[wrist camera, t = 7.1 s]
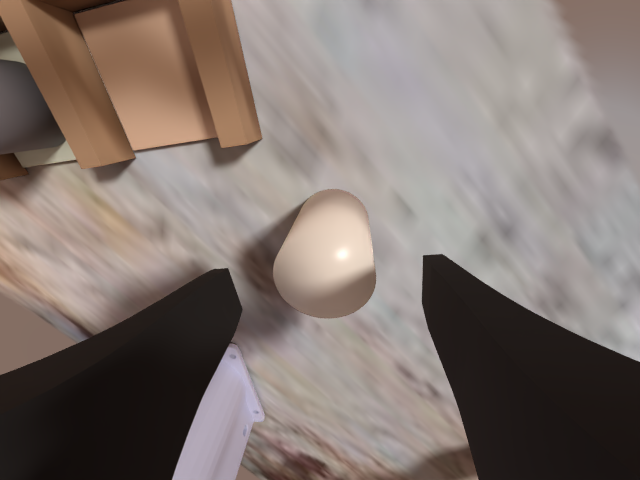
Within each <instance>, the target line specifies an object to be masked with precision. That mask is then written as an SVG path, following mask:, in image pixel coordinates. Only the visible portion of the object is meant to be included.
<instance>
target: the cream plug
mask: <svg viewBox="0 0 640 480" xmlns="http://www.w3.org/2000/svg"><path fill="white" fill-rule="evenodd" d="M273 278H274V283H275V285H276V288H277V290H278V292H279V293H280V295H281V296H282V298H283V299H284V300H285V301H286V302H287V303H288V304H289V305H290V306H292V307H293V308H295V309H296V310H298V311H300V312H302V313H304V314H307V315H310V316H313V317H318V318H338V317H343V316H346V315H349V314H351V313H354V312H355V311H357V310H359V309H360V308H361V307H363V306H364V305H365V304H366V303H367V301H368V300H369V299H370V297H371V296H372V294H373V291H374V288H375V284H376V272H375V265H374V257H373V249H372V242H371V234H370V226H369V219H368V214H367V211H366V209H365V207H364V205H363V204H362V202H361V201H360V200H359V199H358V198H357V197H355V196H354V195H352V194H351V193H349V192H346V191H343V190H339V189H328V190H323V191H320V192H317V193H315V194H314V195H312V196H311V197H310V198H309V199H307V201H306V202H305V203H304V205H303V206H302V208H301V210H300V212H299V214H298V216H297V218H296V220H295V222H294V224H293V226H292V228H291V230H290V231H289V233H288V235H287V237H286V239H285V241H284V243H283V245H282V247H281V249H280V251H279V253H278V255H277V257H276V259H275V262H274V266H273Z"/></svg>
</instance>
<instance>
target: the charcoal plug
mask: <svg viewBox="0 0 640 480" xmlns="http://www.w3.org/2000/svg"><path fill="white" fill-rule="evenodd" d="M65 140H66V139H65V137H64V135H63V133H62V131H61V129H60V127H59V125H58V124H57V122H56V120H55V118H54V116H53V114H52V112H51V110H50V108H49V107H48V105H47V103H46V101H45V99H44V97H43V95H42V93H41V92H40V90H39V88H38V86H37V84H36V82H35V80H34V78H33V76H32V75H31V73H30V71H29V69H28V67H27V65H26V64H24V63H21V62H17V61H10V60H3V59H0V154H8V153H15V152H23V151H30V150H38V149H45V148H53V147H57V146H59V145H61V144H62V143H63V142H64V141H65Z"/></svg>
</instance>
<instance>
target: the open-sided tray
mask: <svg viewBox="0 0 640 480" xmlns="http://www.w3.org/2000/svg"><path fill="white" fill-rule="evenodd" d="M112 1H116V0H0V32H1V31H5V30H8V31H9V32H6V33H2V34H0V59H3V60H10V61H17V62H21V63H24V64H26V65H27V67H28V69H29V71H30V73H31V75H32V76H33V78H34V80H35V82H36V84H37V86H38V88H39V90H40V92H41V93H42V95H43V97H44V99H45V101H46V103H47V105H48V107H49V108H50V110H51V112H52V114H53V116H54V118H55V120H56V122H57V124H58V125H59V127H60V129H61V131H62V133H63V135H64V137H65V139H66V140H65V141H64V142H63V143H62V144H61V145H59V146H57V147H53V148H45V149H38V150H30V151H23V152H15V153H8V154H0V180H4V179H8V178H13V177H18V176H23V175H27V174H28V172H27V170H26V169H25V168H26V167H32V166H38V165H45V164H51V163H57V162H64V161H70V160H76V159H77V161H78V163H79V165H80V167H81V169H85V168H92V167H98V166H104V165H108V164H113V163H117V162H121V161H125V160H129V159H133V158H136V157H135V155H134V153H133V150H140V149H146V148H152V147H159V146H165V145H171V144H178V143H184V142H190V141H197V140H203V139H210V138H216V137H218V138H219V142H220V145H221V148H225V147H232V146H239V145H245V144H249V143H252V142H255V141H257V140H260V139H262V135H261V131H260V126H259V122H258V117H257V113H256V109H255V104H254V100H253V95H252V91H251V86H250V82H249V78H248V73H247V69H246V64H245V60H244V56H243V51H242V47H241V42H240V38H239V34H238V29H237V25H236V20H235V16H234V12H233V7H232V3H231V0H126V1H122V2H118V3H115V4H111V5H107V6H103V7H100V8H96V9H92V10H88V11H85V12H81V13H77V14H74V15H75V17H76V19H75V17H74V15H73V12H75V11H79V10H83V9H86V8H90V7H94V6H97V5H101V4H105V3H109V2H112ZM76 20H77V22H78V24H79V26H78V24H77V22H76ZM79 27H80V28H79ZM80 29H81V31H82V33H83V35H82V33H81V31H80ZM83 36H84V38H85V40H86V42H85V40H84V38H83ZM86 43H87V45H88V47H89V49H88V47H87V45H86ZM89 50H90V51H89ZM90 52H91V54H92V56H91V54H90ZM92 57H93V58H92ZM93 59H94V61H95V63H96V65H95V63H94V61H93ZM96 66H97V68H98V70H99V72H98V70H97V68H96ZM99 73H100V74H99ZM100 75H101V77H102V79H101V77H100ZM102 80H103V81H102ZM103 82H104V84H105V86H106V88H105V86H104V84H103ZM106 89H107V91H108V93H109V95H108V93H107V91H106ZM109 96H110V97H109ZM110 98H111V100H112V102H111V100H110ZM112 103H113V104H112ZM113 105H114V107H115V109H114V107H113ZM115 110H116V111H115ZM116 112H117V113H116ZM117 114H118V116H119V118H118V116H117ZM119 119H120V120H119ZM120 121H121V123H122V125H121V123H120ZM122 126H123V127H122ZM123 128H124V130H125V132H124V130H123ZM125 133H126V134H125ZM126 135H127V136H126ZM127 137H128V139H129V141H128V139H127ZM129 142H130V143H129ZM130 144H131V146H132V148H131V146H130ZM132 149H133V150H132Z"/></svg>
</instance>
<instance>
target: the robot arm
mask: <svg viewBox="0 0 640 480" xmlns="http://www.w3.org/2000/svg"><path fill="white" fill-rule="evenodd" d="M422 305H423V309H424V314H425V318H426V322H427V325H428V329H429V332H430V334H431V337H432V340H433V342H434V345H435V348H436V350H437V353H438V355H439V358H440V360H441V363H442V365H443V368H444V371H445V373H446V376H447V378H448V381H449V383H450V386H451V388H452V391H453V394H454V397H455V399H456V402H457V405H458V408H459V411H460V415H461V418H462V422H463V425H464V429H465V432H466V436H467V439H468V442H469V446H470V450H471V453H472V457H473V461H474V464H475V468H476V471H477V475H478V479H479V480H640V362H638V361H636V360H633V359H631V358H629V357H626V356H624V355H622V354H619V353H617V352H615V351H613V350H610V349H608V348H606V347H603V346H601V345H599V344H597V343H594V342H592V341H590V340H588V339H586V338H583V337H581V336H579V335H577V334H575V333H573V332H571V331H569V330H567V329H565V328H563V327H561V326H559V325H557V324H555V323H553V322H551V321H549V320H547V319H545V318H543V317H541V316H539V315H537V314H535V313H533V312H532V311H530V310H528V309H526V308H524V307H523V306H521V305H519V304H518V303H516V302H514V301H512V300H511V299H509V298H507V297H506V296H504V295H502V294H501V293H499V292H498V291H496V290H494V289H493V288H491V287H490V286H488V285H487V284H485V283H484V282H482V281H481V280H479V279H478V278H476V277H475V276H473V275H472V274H470V273H469V272H467V271H466V270H464V269H463V268H462V267H460V266H459V265H457V264H456V263H455V262H453V261H452V260H450V259H449V258H447V257H446V256H444V255H443V254H438V255H423V281H422ZM242 310H243V309H242V306H241V304H240V301H239V298H238V295H237V292H236V289H235V287H234V284H233V281H232V278H231V275H230V272H229V270H228V268H225V269H213V270H211V271H209V272H207V273H205V274H203V275H201V276H199V277H198V278H196V279H194V280H193V281H191V282H189V283H188V284H186V285H184V286H183V287H181V288H179V289H178V290H176V291H174V292H173V293H171V294H169V295H168V296H166V297H164V298H163V299H161V300H160V301H158V302H156V303H154V304H153V305H151V306H149V307H147V308H146V309H144V310H142V311H140V312H139V313H137V314H135V315H133V316H132V317H130V318H128V319H126V320H124V321H123V322H121V323H119V324H117V325H115V326H113V327H111V328H109V329H107V330H105V331H103V332H101V333H99V334H97V335H95V336H93V337H91V338H89V339H86V340H84V341H82V342H80V343H78V344H75V345H73V346H71V347H68V348H66V349H64V350H62V351H59V352H57V353H55V354H53V355H50V356H48V357H46V358H43V359H41V360H38V361H36V362H33V363H31V364H28V365H26V366H23V367H21V368H18V369H16V370H13V371H10V372H8V373H5V374H2V375H0V480H235V479H236V476H237V472H238V469H239V466H240V463H241V460H242V457H243V454H244V450H245V447H246V444H247V441H248V438H249V435H250V431H251V428H252V425H253V422H262V421H263V420H264V418H265V414H264V412H263V409H262V406H261V404H260V401H259V399H258V396H257V394H256V391H255V388H254V386H253V383H252V381H251V378H250V376H249V373H248V370H247V368H246V365H245V363H244V360H243V358H242V355H241V352H240V350H239V348H238V346H237V345H235V344H230V342H231V340H232V338H233V336H234V333H235V331H236V328H237V325H238V322H239V319H240V316H241V313H242Z"/></svg>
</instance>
